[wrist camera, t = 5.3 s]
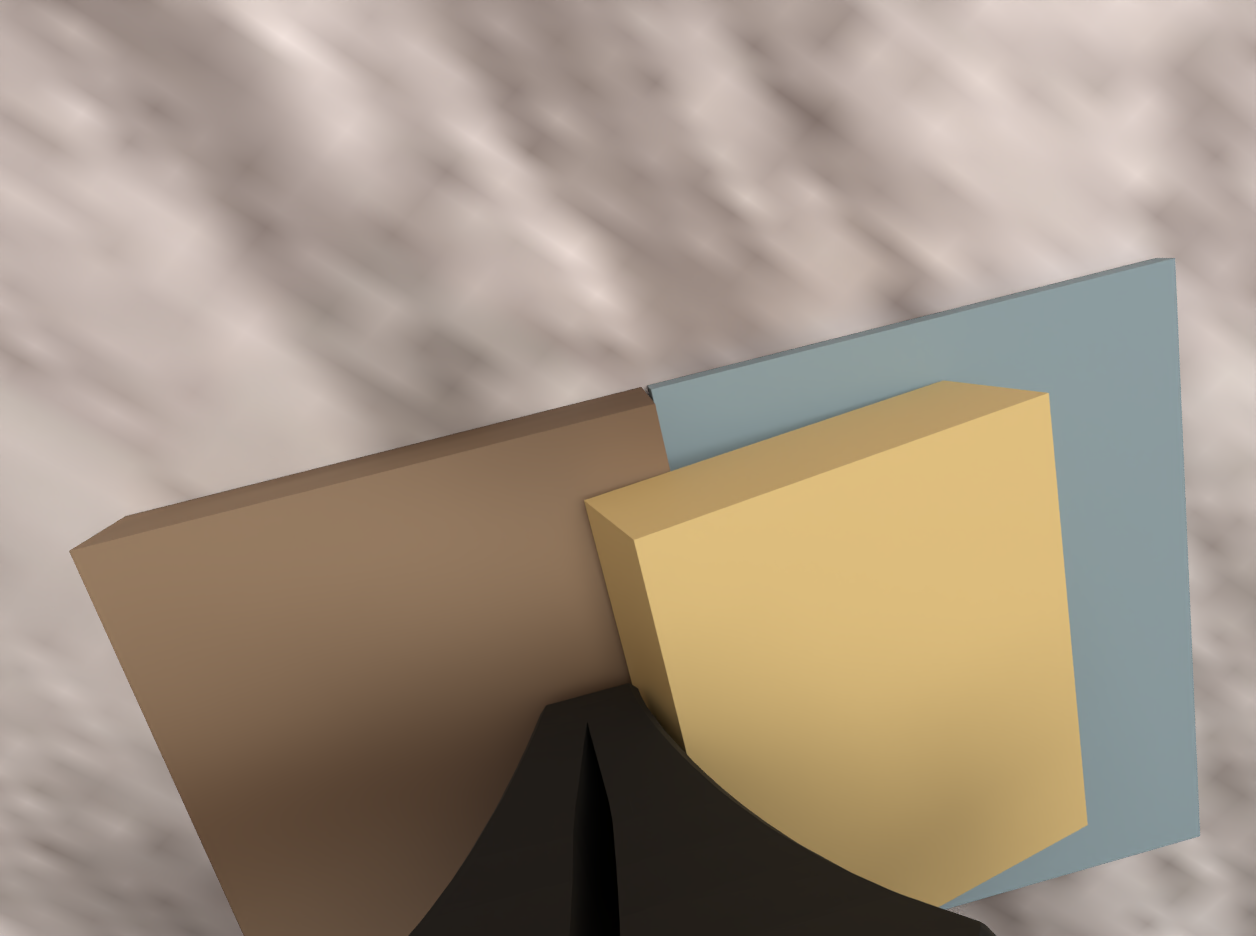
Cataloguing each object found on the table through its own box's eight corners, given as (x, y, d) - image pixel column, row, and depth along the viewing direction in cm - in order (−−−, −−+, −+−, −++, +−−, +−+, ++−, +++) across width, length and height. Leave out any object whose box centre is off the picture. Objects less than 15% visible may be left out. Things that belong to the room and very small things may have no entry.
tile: (990, 758, 14) (1087, 825, 12) (690, 908, 13) (750, 1011, 11) (943, 380, 12) (1049, 393, 11) (583, 499, 11) (634, 540, 9)
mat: (1183, 822, 16) (1199, 835, 15) (773, 939, 15) (779, 957, 15) (1155, 257, 13) (1174, 258, 12) (648, 385, 12) (651, 389, 12)
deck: (768, 940, 15) (792, 1011, 14) (357, 1058, 15) (338, 1143, 13) (640, 387, 12) (655, 403, 11) (125, 516, 12) (69, 550, 11)
